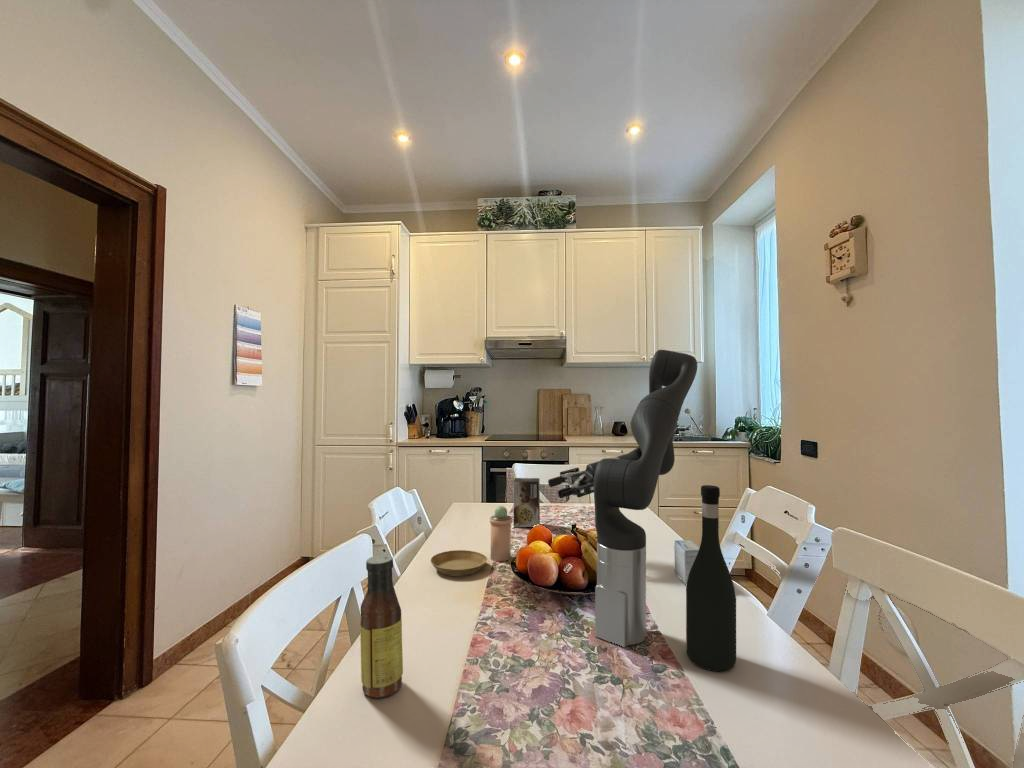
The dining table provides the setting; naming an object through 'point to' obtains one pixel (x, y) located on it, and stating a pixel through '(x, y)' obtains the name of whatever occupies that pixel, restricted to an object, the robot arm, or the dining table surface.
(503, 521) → the pepper mill
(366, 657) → the sauce bottle
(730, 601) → the wine bottle
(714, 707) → the dining table surface
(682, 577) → the medicine box
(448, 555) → the plant saucer
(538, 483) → the coffee box
